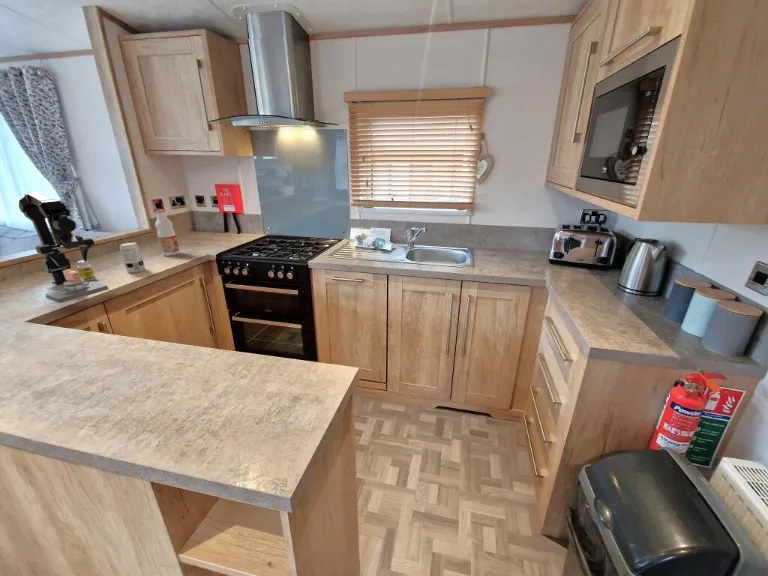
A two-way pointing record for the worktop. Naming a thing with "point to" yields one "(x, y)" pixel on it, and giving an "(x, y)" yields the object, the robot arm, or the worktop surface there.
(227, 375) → the worktop surface
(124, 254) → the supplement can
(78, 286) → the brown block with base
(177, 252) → the fruit juice
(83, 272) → the supplement bottle
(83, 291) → the post plate
